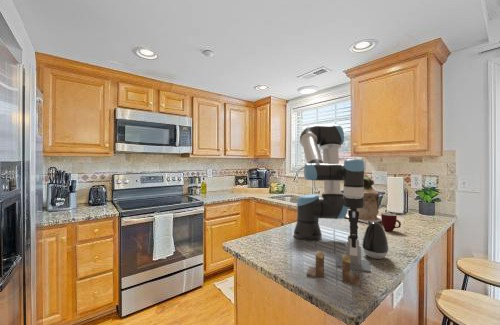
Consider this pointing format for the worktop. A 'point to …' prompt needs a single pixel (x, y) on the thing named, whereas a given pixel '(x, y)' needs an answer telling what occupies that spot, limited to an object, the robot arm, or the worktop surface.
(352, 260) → the power adapter
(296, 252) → the worktop surface
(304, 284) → the worktop surface
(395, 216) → the mug
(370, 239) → the pump dispenser
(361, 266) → the mat
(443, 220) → the worktop surface
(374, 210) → the cookie jar
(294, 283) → the worktop surface
